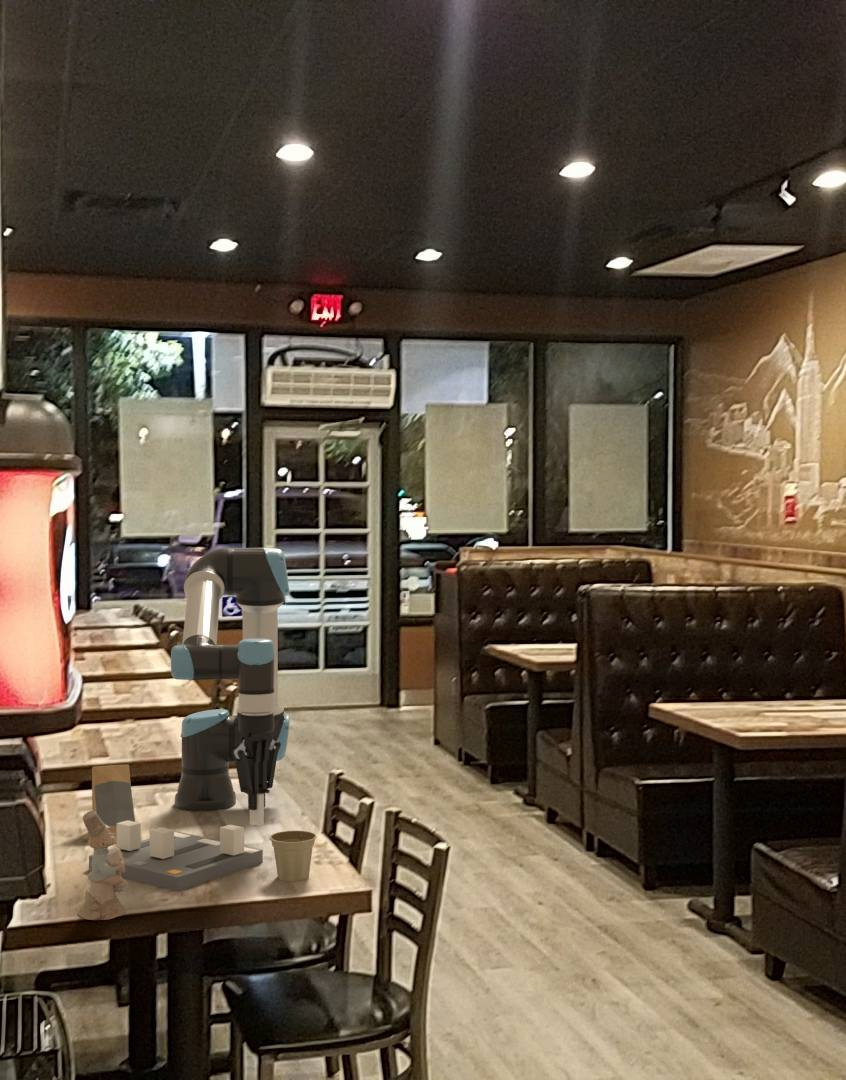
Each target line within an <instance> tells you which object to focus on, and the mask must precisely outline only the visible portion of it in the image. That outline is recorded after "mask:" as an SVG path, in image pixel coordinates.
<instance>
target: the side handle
mask: <svg viewBox="0 0 846 1080" xmlns="http://www.w3.org/2000/svg"><path fill="white" fill-rule="evenodd" d="M141 827H142V825H141V822H137V821H135V822H133V821H128V820H127V821H123V822H120V823H117V844H116V848H120V849H123V850H127V851H132V850H135V849H139V848H141V841H142V839H141V838H142V829H141Z"/></svg>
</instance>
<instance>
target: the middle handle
mask: <svg viewBox="0 0 846 1080" xmlns="http://www.w3.org/2000/svg"><path fill="white" fill-rule="evenodd" d="M174 831H175V830H174V829H171V828H164V827H157V828H154V829H150V830H149V838H150V856H153V857H157V858H161V859H165V858H168V857H171V856H174Z"/></svg>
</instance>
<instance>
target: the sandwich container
mask: <svg viewBox="0 0 846 1080" xmlns="http://www.w3.org/2000/svg"><path fill="white" fill-rule="evenodd" d="M130 773H131V772H130V765H129V764H111V765H97V766H96V765H95V766H92V767H91V800H92V801H91V802H92V804H91V805H92V806H91V807H92V810H91V811H95V812H96V813H97V814H98V816H99V817H100V818H101V820H102V821H103V823H104V824H106V825H107V826H109V827H110V828H111V829H110V833H115V837H116V842H117V823H120V822H123V821H127V820H128V821H133V822H136V818H135V817H136V816H135V810H134V809H135V807H134V802H133V801H134V800H133V793H132V791H133V790H132V784H131V775H130ZM116 845H117V843H116Z"/></svg>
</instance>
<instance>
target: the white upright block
mask: <svg viewBox="0 0 846 1080" xmlns="http://www.w3.org/2000/svg"><path fill="white" fill-rule="evenodd" d="M219 840H220V853H224V854H229V855H233V856H235V855H238V854H241V853H244V846H245V827H244V826H241V825H240V826H239V825H236V824H235V825H234V824H227V825H224V826H219Z"/></svg>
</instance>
